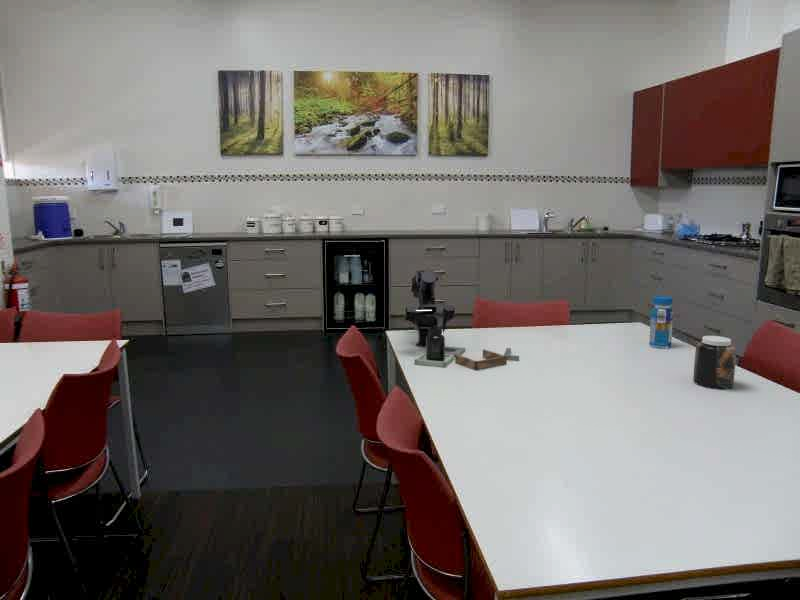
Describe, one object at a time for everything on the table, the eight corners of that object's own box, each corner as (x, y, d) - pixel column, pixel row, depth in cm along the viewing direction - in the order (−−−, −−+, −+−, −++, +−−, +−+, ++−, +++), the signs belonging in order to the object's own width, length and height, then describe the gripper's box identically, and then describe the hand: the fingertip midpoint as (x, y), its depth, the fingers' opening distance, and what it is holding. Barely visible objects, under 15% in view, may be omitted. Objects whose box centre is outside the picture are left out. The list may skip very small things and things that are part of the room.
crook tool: (506, 352, 249) (506, 348, 249) (521, 353, 248) (521, 349, 248) (503, 360, 238) (503, 355, 238) (518, 361, 236) (518, 356, 236)
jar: (691, 386, 206) (695, 340, 203) (694, 376, 216) (697, 333, 213) (733, 391, 200) (737, 344, 198) (733, 381, 211) (737, 336, 208)
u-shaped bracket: (455, 362, 234) (455, 354, 234) (484, 357, 242) (484, 349, 241) (476, 370, 225) (476, 362, 224) (506, 364, 232) (506, 356, 231)
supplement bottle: (448, 359, 236) (448, 327, 234) (439, 363, 231) (439, 330, 228) (431, 356, 240) (432, 325, 238) (422, 360, 234) (422, 328, 232)
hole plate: (440, 348, 254) (440, 346, 254) (465, 351, 251) (465, 348, 251) (433, 355, 245) (433, 352, 245) (458, 357, 242) (458, 354, 242)
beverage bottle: (644, 345, 259) (647, 296, 255) (659, 342, 262) (662, 294, 259) (660, 349, 251) (663, 299, 248) (676, 347, 255) (679, 297, 251)
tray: (424, 356, 243) (424, 352, 243) (454, 359, 239) (454, 354, 239) (414, 364, 232) (414, 359, 232) (445, 367, 228) (445, 362, 228)
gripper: (448, 308, 258) (453, 342, 249) (402, 309, 256) (405, 343, 248) (452, 292, 249) (457, 327, 240) (404, 293, 247) (407, 328, 238)
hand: (431, 332), depth 242 cm, fingers open, 9 cm apart
